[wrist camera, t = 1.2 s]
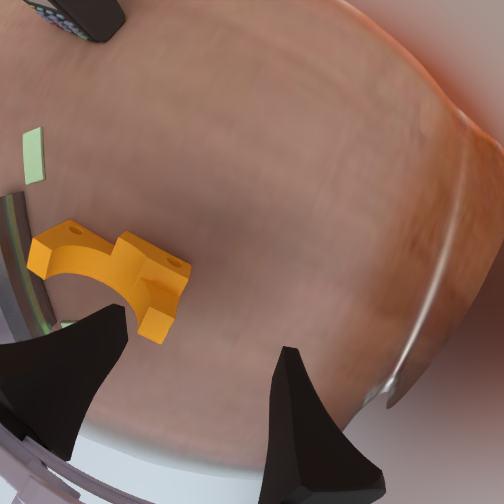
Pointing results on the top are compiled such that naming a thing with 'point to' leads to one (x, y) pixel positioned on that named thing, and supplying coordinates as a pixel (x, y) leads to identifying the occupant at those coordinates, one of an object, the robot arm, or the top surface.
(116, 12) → the black upright block
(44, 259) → the pipe clamp
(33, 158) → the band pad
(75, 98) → the top surface
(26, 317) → the curved gray arc panel
